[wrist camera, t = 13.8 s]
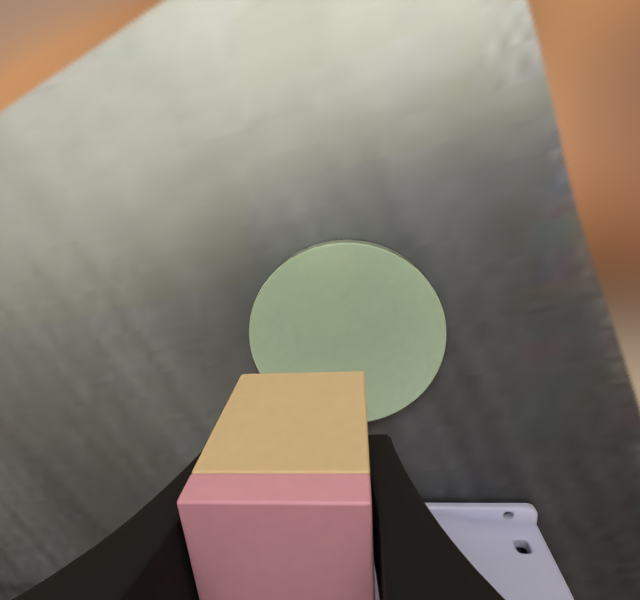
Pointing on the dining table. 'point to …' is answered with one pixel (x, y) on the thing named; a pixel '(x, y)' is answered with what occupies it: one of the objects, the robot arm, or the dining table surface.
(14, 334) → the dining table surface
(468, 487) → the dining table surface
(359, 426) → the cake slice
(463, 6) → the dining table surface
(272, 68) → the dining table surface
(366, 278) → the plate
